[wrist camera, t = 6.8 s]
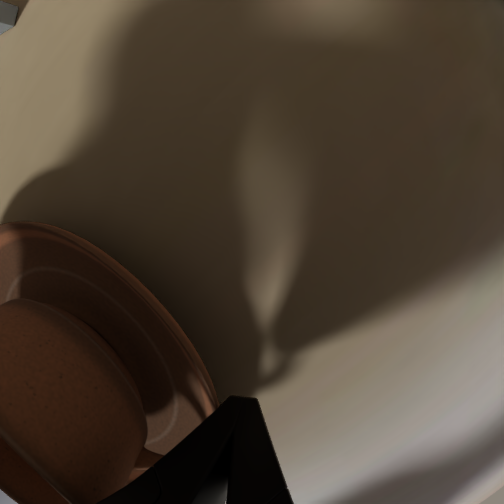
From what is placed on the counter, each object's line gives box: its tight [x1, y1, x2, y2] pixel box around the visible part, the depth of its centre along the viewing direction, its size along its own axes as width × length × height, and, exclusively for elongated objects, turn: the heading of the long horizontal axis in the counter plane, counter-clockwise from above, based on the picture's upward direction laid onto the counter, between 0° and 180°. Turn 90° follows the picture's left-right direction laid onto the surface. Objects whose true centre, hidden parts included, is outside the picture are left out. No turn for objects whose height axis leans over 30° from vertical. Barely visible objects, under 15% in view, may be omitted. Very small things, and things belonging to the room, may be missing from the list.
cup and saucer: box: [0, 221, 219, 504], centre depth 8 cm, size 12×12×6 cm
